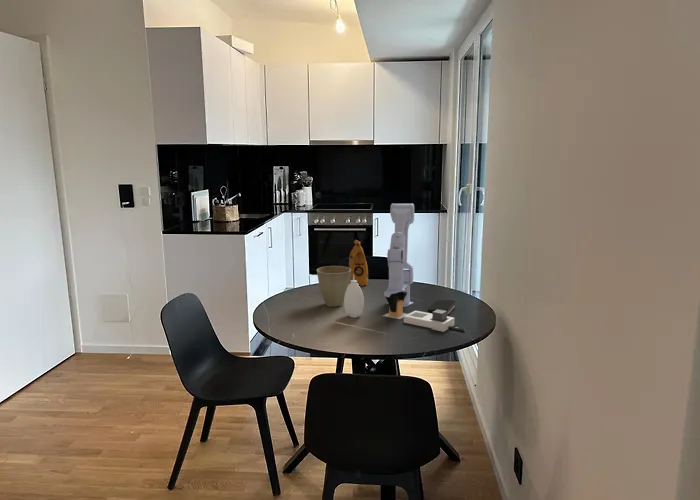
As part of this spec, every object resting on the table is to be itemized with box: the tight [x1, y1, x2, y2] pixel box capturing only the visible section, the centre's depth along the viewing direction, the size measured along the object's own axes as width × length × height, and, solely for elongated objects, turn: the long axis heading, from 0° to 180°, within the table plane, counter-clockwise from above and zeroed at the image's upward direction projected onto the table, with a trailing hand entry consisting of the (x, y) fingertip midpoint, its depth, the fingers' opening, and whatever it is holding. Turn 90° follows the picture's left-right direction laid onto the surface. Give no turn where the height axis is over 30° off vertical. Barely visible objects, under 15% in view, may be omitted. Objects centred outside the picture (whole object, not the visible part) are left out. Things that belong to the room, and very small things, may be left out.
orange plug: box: [388, 300, 404, 317], centre depth 208 cm, size 4×4×6 cm
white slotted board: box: [403, 310, 466, 332], centre depth 196 cm, size 23×9×3 cm, turn 53°
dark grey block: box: [432, 309, 448, 322], centre depth 194 cm, size 4×4×6 cm
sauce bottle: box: [343, 274, 365, 318], centre depth 206 cm, size 8×8×18 cm
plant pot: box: [316, 265, 351, 308], centre depth 225 cm, size 15×15×16 cm
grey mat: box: [382, 312, 408, 320], centre depth 209 cm, size 8×8×1 cm
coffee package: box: [348, 239, 369, 287], centre depth 262 cm, size 10×12×22 cm
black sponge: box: [426, 299, 456, 316], centre depth 214 cm, size 16×8×4 cm, turn 155°
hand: (396, 310), depth 208 cm, fingers closed on orange plug, 4 cm apart
